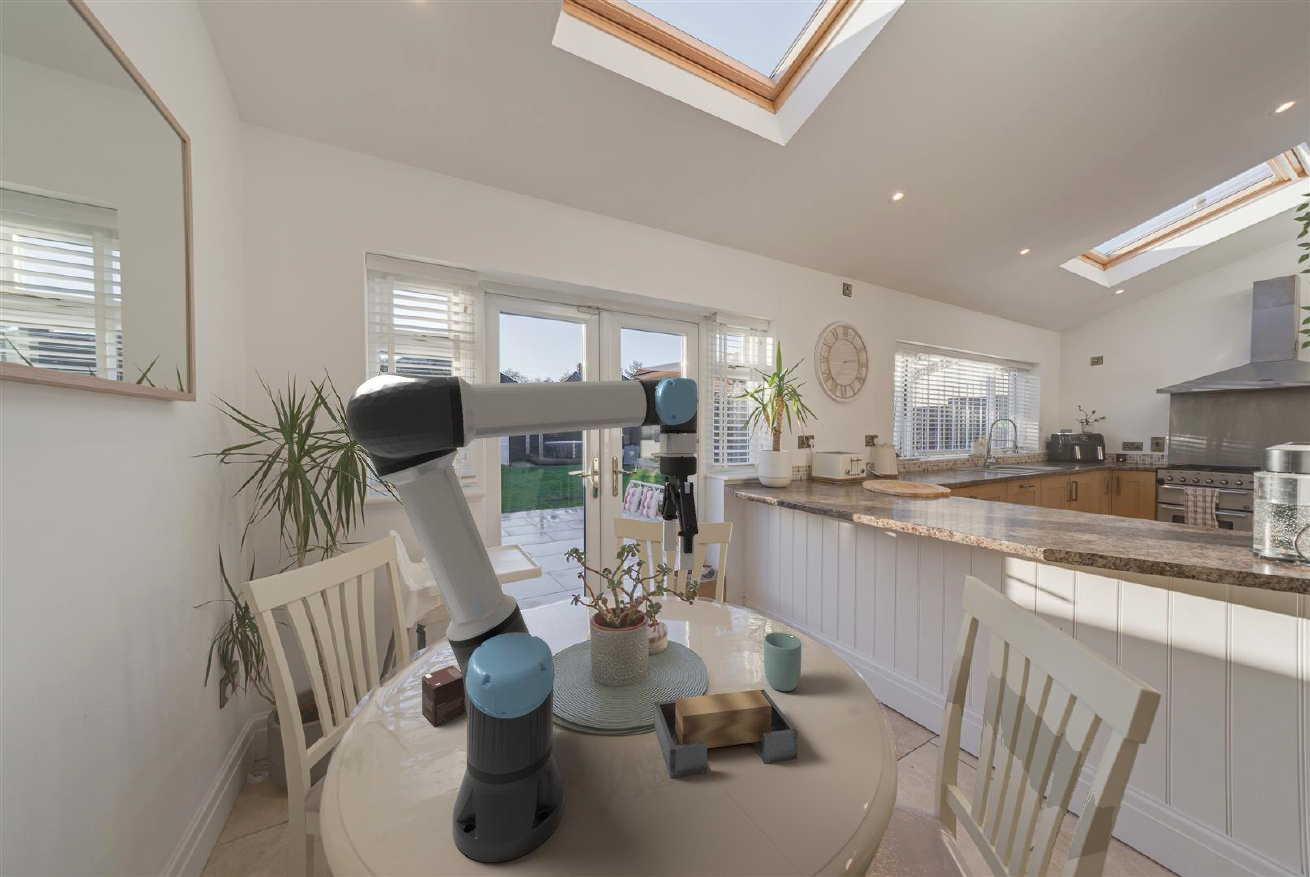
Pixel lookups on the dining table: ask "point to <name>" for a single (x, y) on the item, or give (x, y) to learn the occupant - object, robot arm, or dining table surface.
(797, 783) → the dining table surface
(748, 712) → the wooden block
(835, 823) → the dining table surface
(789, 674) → the cup
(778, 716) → the bracket right
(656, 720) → the bracket left
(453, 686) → the box
